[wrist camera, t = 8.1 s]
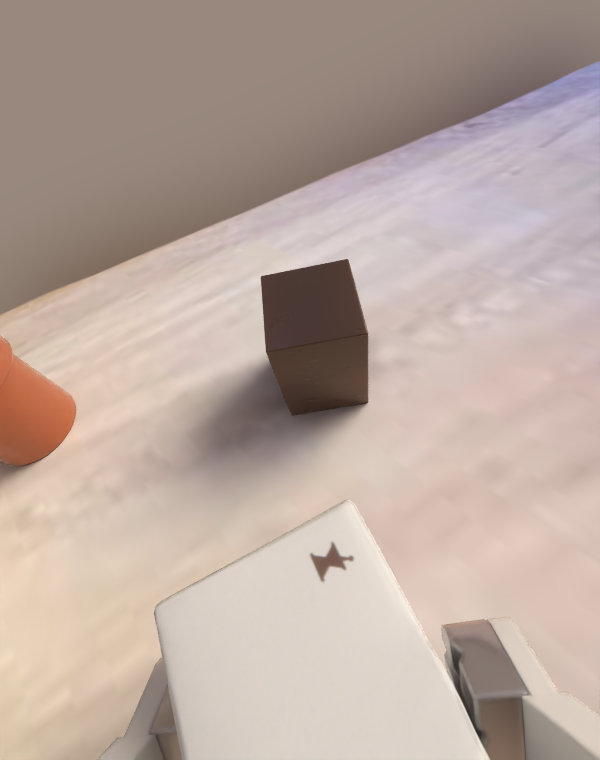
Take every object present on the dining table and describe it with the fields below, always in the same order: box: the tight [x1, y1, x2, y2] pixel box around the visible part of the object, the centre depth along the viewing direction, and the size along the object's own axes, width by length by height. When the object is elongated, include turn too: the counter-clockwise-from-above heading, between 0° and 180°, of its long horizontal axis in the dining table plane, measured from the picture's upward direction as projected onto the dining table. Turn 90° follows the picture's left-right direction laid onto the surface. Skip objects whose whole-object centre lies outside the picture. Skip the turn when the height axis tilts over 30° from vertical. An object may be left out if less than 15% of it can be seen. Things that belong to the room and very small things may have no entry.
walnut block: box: [261, 259, 368, 415], centre depth 20 cm, size 5×5×6 cm
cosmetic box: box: [154, 500, 490, 760], centre depth 10 cm, size 6×4×12 cm
